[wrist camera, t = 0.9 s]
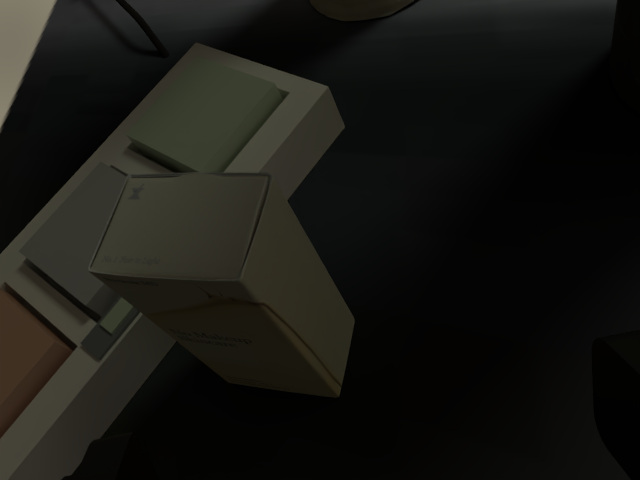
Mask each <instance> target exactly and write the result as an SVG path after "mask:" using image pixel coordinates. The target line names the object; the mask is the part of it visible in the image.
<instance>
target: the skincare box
mask: <svg viewBox="0 0 640 480" xmlns="http://www.w3.org/2000/svg"><path fill="white" fill-rule="evenodd" d="M88 271H89V272H90V273H91V274H93V275H94V276H95V277H96V278H98V279H99V280H100V281H102V282H103V283H104V284H106V285H107V286H108V287H110V288H111V289H112V290H113V291H114V292H116V293H117V294H118V295H120V296H121V297H122V298H123V299H125V300H126V301H127V302H128V303H129V304H131V305H132V306H133V307H134V308H136V309H137V310H138V311H140V312H141V313H142V314H143V315H145V316H146V317H147V318H148V319H150V320H151V321H152V322H153V323H155V324H156V325H157V326H158V327H160V328H161V329H162V330H163V331H165V332H166V333H167V334H168V335H170V336H171V337H172V338H173V339H175V340H176V341H177V342H178V343H180V344H181V345H182V346H183V347H185V348H186V349H187V350H188V351H190V352H191V353H192V354H193V355H195V356H196V357H197V358H198V359H200V360H201V361H202V362H203V363H204V364H206V365H207V366H208V367H210V368H211V369H212V370H213V371H214V372H216V373H217V374H218V375H219V376H221V377H222V378H223V379H224V380H226V381H227V382H229V383H233V384H240V385H246V386H252V387H259V388H266V389H273V390H280V391H287V392H294V393H302V394H310V395H318V396H326V397H335V398H337V397H339V395H340V391H341V387H342V382H343V378H344V373H345V368H346V363H347V358H348V353H349V348H350V343H351V338H352V333H353V328H354V322H355V320H354V317H353V315H352V313H351V312H350V310H349V308H348V307H347V305H346V303H345V301H344V299H343V298H342V296H341V294H340V292H339V291H338V289H337V287H336V285H335V284H334V282H333V280H332V279H331V277H330V275H329V273H328V272H327V270H326V268H325V266H324V264H323V263H322V261H321V259H320V258H319V256H318V254H317V252H316V251H315V249H314V247H313V245H312V244H311V242H310V240H309V238H308V237H307V235H306V233H305V231H304V230H303V228H302V226H301V224H300V223H299V221H298V219H297V217H296V216H295V214H294V212H293V211H292V209H291V207H290V205H289V203H288V201H287V200H286V198H285V196H284V195H283V193H282V191H281V189H280V188H279V186H278V184H277V182H276V180H275V179H274V177H273V175H272V174H271V173H267V172H260V173H250V172H238V173H234V172H228V173H227V172H221V173H214V172H191V173H158V174H129V175H127V178H126V180H125V183H124V185H123V187H122V189H121V191H120V194H119V196H118V198H117V201H116V203H115V205H114V207H113V209H112V211H111V214H110V216H109V219H108V221H107V223H106V226H105V228H104V230H103V232H102V234H101V237H100V239H99V242H98V244H97V247H96V249H95V251H94V254H93V256H92V258H91V261H90V263H89V265H88Z"/></svg>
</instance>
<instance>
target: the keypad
mask: <svg viewBox="0 0 640 480" xmlns="http://www.w3.org/2000/svg"><path fill="white" fill-rule="evenodd" d="M197 56H199V57H202V58H204V59H207V60H210V61H213V62H216V63H219V64H221V65H224V66H227V67H230V68H233V69H236V70H238V71H241V72H244V73H247V74H250V75H253V76H255V77H258V78H261V79H264V80H267V81H270V82H273V83H275V85H276V87H277V89H278V91H279V92H280V94H281V96H282V98H283V102H282V103H281V104H280V105H279V106H278V108H277V109H276V110H275V111H274V112H273V114H272V115H271V116H270V117H269V118H268V120H267V121H266V122H265V123H264V124H263V126H262V127H261V128H260V129H259V130H258V132H257V133H256V134H255V135H254V136H253V137H252V139H251V140H250V141H249V142H248V143H247V145H246V146H245V147H244V148H243V149H242V151H241V152H240V153H239V154H238V155H237V157H236V158H235V159H234V160H233V161H232V163H231V164H230V165H229V166H228V167H227V169H226V170H225V171H224V172H227V173H228V172H234V173H238V172H250V173H260V172H267V173H271V174H272V175H273V177H274V179H275V180H276V182H277V184H278V186H279V188H280V189H281V191H282V193H283V195H284V196H285V198H286V200H288V199H289V198H290V196H291V195H292V194H293V192H294V191H295V190H296V189H297V187H298V186H299V185H300V184H301V182H302V181H303V180H304V178H305V177H306V176H307V175H308V173H309V172H310V171H311V170H312V168H313V167H314V166H315V164H316V163H317V162H318V161H319V159H320V158H321V157H322V156H323V154H324V153H325V152H326V150H327V149H328V148H329V147H330V145H331V144H332V143H333V142H334V140H335V139H336V138H337V137H338V135H339V134H340V133H341V131H342V130H343V129H344V128H345V126H344V124H343V121H342V119H341V116H340V114H339V111H338V109H337V107H336V104H335V102H334V99H333V97H332V94H331V92H330V89H329V87H328V86H325V85H322V84H319V83H316V82H313V81H310V80H307V79H304V78H301V77H298V76H295V75H292V74H289V73H286V72H283V71H280V70H277V69H274V68H271V67H268V66H265V65H262V64H259V63H256V62H253V61H250V60H247V59H244V58H241V57H238V56H235V55H232V54H229V53H226V52H223V51H220V50H217V49H214V48H211V47H208V46H205V45H202V44H199V43H195V44H194V45H193V46H192V47H191V48H190V50H189V51H188V52H187V53H186V54H185V55H184V56H183V57H182V58H181V59H180V60H179V61H178V63H177V64H176V65H175V66H174V67H173V68H172V69H171V70H170V71H169V72H168V73H167V74H166V76H165V77H164V78H163V79H162V80H161V81H160V82H159V83H158V84H157V85H156V86H155V87H154V89H153V90H152V91H151V92H150V93H149V94H148V95H147V96H146V97H145V98H144V99H143V100H142V102H141V103H140V104H139V105H138V106H137V107H136V108H135V109H134V110H133V111H132V112H131V113H130V115H129V116H128V117H127V118H126V119H125V120H124V121H123V122H122V123H121V124H120V125H119V126H118V127H117V129H116V130H115V131H114V132H113V133H112V134H111V135H110V136H109V137H108V138H107V139H106V140H105V142H104V143H103V144H102V145H101V146H100V147H99V148H98V149H97V150H96V151H95V152H94V153H93V155H92V156H91V157H90V158H89V159H88V160H87V161H86V162H85V163H84V164H83V165H82V166H81V168H80V169H79V170H78V171H77V172H76V173H75V174H74V175H73V176H72V177H71V178H70V179H69V181H68V182H67V183H66V184H65V185H64V186H63V187H62V188H61V189H60V190H59V191H58V192H57V194H56V195H55V196H54V197H53V198H52V199H51V200H50V201H49V202H48V203H47V204H46V205H45V207H44V208H43V209H42V210H41V211H40V212H39V213H38V214H37V215H36V216H35V217H34V218H33V220H32V221H31V222H30V223H29V224H28V225H27V226H26V227H25V228H24V229H23V230H22V231H21V233H20V234H19V235H18V236H17V237H16V238H15V239H14V240H13V241H12V242H11V243H10V244H9V246H8V247H7V248H6V249H5V250H4V251H3V252H2V253H1V254H0V289H2V290H4V291H5V292H7V293H9V294H10V295H12V296H14V297H15V298H16V299H17V300H18V301H19V302H20V303H21V304H23V305H24V306H25V307H26V308H27V309H28V310H29V311H30V312H31V313H33V314H34V315H35V316H36V317H37V318H38V319H39V320H40V321H41V322H43V323H44V324H45V325H46V326H47V327H48V328H49V329H50V330H52V331H53V332H54V333H55V334H56V335H57V336H58V337H59V338H60V339H62V340H63V341H64V342H65V343H66V344H67V345H68V346H69V347H70V348H72V349H73V350H74V351H73V353H72V354H71V355H70V356H69V357H68V359H67V360H66V361H65V362H64V363H63V365H62V366H61V367H60V368H59V369H58V370H57V372H56V373H55V374H54V375H53V376H52V378H51V379H50V380H49V381H48V382H47V384H46V385H45V386H44V387H43V388H42V390H41V391H40V392H39V393H38V394H37V396H36V397H35V398H34V399H33V400H32V402H31V403H30V404H29V405H28V406H27V408H26V409H25V410H24V411H23V412H22V414H21V415H20V416H19V417H18V418H17V419H16V421H15V422H14V423H13V424H12V425H11V427H10V428H9V429H8V430H7V431H6V433H5V434H4V435H3V436H2V437H1V439H0V480H62V478H63V477H65V476H70V475H72V474H73V472H74V471H75V470H76V468H77V467H78V466H79V465H80V463H81V462H82V460H83V457H84V455H85V453H86V451H87V448H88V446H89V444H90V443H91V442H92V441H93V440H96V439H100V438H101V437H102V435H103V434H104V433H105V432H106V430H107V429H108V428H109V426H110V425H111V424H112V423H113V421H114V420H115V419H116V418H117V416H118V415H119V414H120V412H121V411H122V410H123V409H124V407H125V406H126V405H127V404H128V402H129V401H130V400H131V398H132V397H133V396H134V395H135V393H136V392H137V391H138V390H139V388H140V387H141V386H142V385H143V383H144V382H145V381H146V379H147V378H148V377H149V376H150V374H151V373H152V372H153V371H154V369H155V368H156V367H157V365H158V364H159V363H160V362H161V360H162V359H163V358H164V357H165V355H166V354H167V353H168V351H169V350H170V349H171V348H172V346H173V345H174V344H175V343H176V340H175V339H173V338H172V337H171V336H170V335H168V334H167V333H166V332H165V331H163V330H162V329H161V328H160V327H158V326H157V325H156V324H155V323H153V322H152V321H151V320H150V319H148V318H147V317H146V316H145V315H143V314H142V313H141V312H140V311H138V310H137V309H136V308H134V307H133V306H132V305H131V304H129V303H128V302H127V301H126V300H125V299H123V298H122V297H121V296H119V298H118V299H117V300H116V301H115V302H114V304H113V305H112V306H111V307H110V308H109V310H108V311H107V312H106V313H105V314H104V316H103V317H102V316H100V315H99V314H97V313H96V312H94V311H93V310H91V309H90V308H88V307H87V306H85V305H84V304H83V303H82V302H80V301H79V300H78V299H77V298H75V297H74V296H73V295H72V294H71V293H69V292H68V291H67V290H66V289H64V288H63V287H62V286H61V285H59V284H58V283H57V282H56V281H54V280H53V279H52V278H51V277H50V276H48V275H47V274H46V273H45V272H43V271H42V270H41V269H40V268H38V267H37V266H36V265H35V264H33V263H32V262H31V261H30V260H29V259H27V258H26V257H25V256H24V255H22V254H21V253H20V252H19V250H20V249H21V248H22V247H23V246H24V245H25V244H26V243H27V241H28V240H29V239H30V238H31V237H32V236H33V235H34V234H35V233H36V232H37V231H38V229H39V228H40V227H41V226H42V225H43V224H44V223H45V222H46V221H47V220H48V218H49V217H50V216H51V215H52V214H53V213H54V212H55V211H56V210H57V209H58V208H59V206H60V205H61V204H62V203H63V202H64V201H65V200H66V199H67V198H68V197H69V196H70V194H71V193H72V192H73V191H74V190H75V189H76V188H77V187H78V186H79V185H80V184H81V182H82V181H83V180H84V179H85V178H86V177H87V176H88V175H89V174H90V173H91V171H92V170H93V169H94V168H95V167H96V166H97V165H98V164H99V163H100V162H102V163H104V164H106V165H107V166H109V167H111V168H113V169H114V170H116V171H118V172H120V173H121V174H123V175H125V176H127V175H129V174H158V173H179V172H177V171H175V170H173V169H171V168H169V167H167V166H165V165H163V164H162V163H160V162H158V161H156V160H154V159H152V158H150V157H148V156H146V155H144V154H142V153H141V152H140V151H139V150H138V148H137V147H136V146H135V145H134V144H133V143H132V142H131V140H130V139H129V138H128V137H127V136H126V135H125V134H126V133H127V132H128V131H129V130H130V129H131V128H132V127H133V126H134V124H135V123H136V122H137V121H138V120H139V119H140V118H141V117H142V116H143V115H144V114H145V112H146V111H147V110H148V109H149V108H150V107H151V106H152V105H153V104H154V103H155V102H156V100H157V99H158V98H159V97H160V96H161V95H162V94H163V93H164V92H165V91H166V90H167V88H168V87H169V86H170V85H171V84H172V83H173V82H174V81H175V80H176V79H177V77H178V76H179V75H180V74H181V73H182V72H183V71H184V70H185V69H186V68H187V67H188V65H189V64H190V63H191V62H192V61H193V60H194V59H195V58H196V57H197Z"/></svg>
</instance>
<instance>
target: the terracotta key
mask: <svg viewBox="0 0 640 480" xmlns="http://www.w3.org/2000/svg"><path fill="white" fill-rule="evenodd" d="M73 351H74V350H73V349H72V348H70V347H69V346H68V345H67V344H66V343H65V342H64V341H63V340H62V339H60V338H59V337H58V336H57V335H56V334H55V333H54V332H53V331H52V330H50V329H49V328H48V327H47V326H46V325H45V324H44V323H43V322H41V321H40V320H39V319H38V318H37V317H36V316H35V315H34V314H33V313H31V312H30V311H29V310H28V309H27V308H26V307H25V306H24V305H23V304H21V303H20V302H19V301H18V300H17V299H16V298H15V297H14V296H12V295H10V294H9V293H7V292H5V291H4V290H2V289H0V439H1V437H2V436H3V435H4V434H5V433H6V431H7V430H8V429H9V428H10V427H11V425H12V424H13V423H14V422H15V421H16V419H17V418H18V417H19V416H20V415H21V414H22V412H23V411H24V410H25V409H26V408H27V406H28V405H29V404H30V403H31V402H32V400H33V399H34V398H35V397H36V396H37V394H38V393H39V392H40V391H41V390H42V388H43V387H44V386H45V385H46V384H47V382H48V381H49V380H50V379H51V378H52V376H53V375H54V374H55V373H56V372H57V370H58V369H59V368H60V367H61V366H62V365H63V363H64V362H65V361H66V360H67V359H68V357H69V356H70V355H71V354H72V353H73Z"/></svg>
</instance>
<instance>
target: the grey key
mask: <svg viewBox="0 0 640 480" xmlns="http://www.w3.org/2000/svg"><path fill="white" fill-rule="evenodd" d="M126 178H127V176H125V175H123V174H121V173H120V172H118V171H116V170H114V169H113V168H111V167H109V166H107V165H106V164H104V163H102V162H100V163H99V164H98V165H97V166H96V167H95V168H94V169H93V170H92V171H91V173H90V174H89V175H88V176H87V177H86V178H85V179H84V180H83V181H82V182H81V184H80V185H79V186H78V187H77V188H76V189H75V190H74V191H73V192H72V193H71V194H70V196H69V197H68V198H67V199H66V200H65V201H64V202H63V203H62V204H61V205H60V206H59V208H58V209H57V210H56V211H55V212H54V213H53V214H52V215H51V216H50V217H49V218H48V220H47V221H46V222H45V223H44V224H43V225H42V226H41V227H40V228H39V229H38V231H37V232H36V233H35V234H34V235H33V236H32V237H31V238H30V239H29V240H28V241H27V243H26V244H25V245H24V246H23V247H22V248H21V249H20V250H19V252H20V253H21V254H22V255H24V256H25V257H26V258H27V259H29V260H30V261H31V262H32V263H33V264H35V265H36V266H37V267H38V268H40V269H41V270H42V271H43V272H45V273H46V274H47V275H48V276H50V277H51V278H52V279H53V280H54V281H56V282H57V283H58V284H59V285H61V286H62V287H63V288H64V289H66V290H67V291H68V292H69V293H71V294H72V295H73V296H74V297H75V298H77V299H78V300H79V301H80V302H82V303H83V304H84V305H85V306H87V307H88V308H90V309H91V310H93V311H94V312H96V313H97V314H99V315H100V316H102V317H103V316H104V314H105V313H106V312H107V311H108V310H109V308H110V307H111V306H112V305H113V304H114V302H115V301H116V300H117V299H118V298H119V296H120V295H118V294H117V293H116V292H114V291H113V290H112V289H111V288H110V287H108V286H107V285H106V284H104V283H103V282H102V281H100V280H99V279H98V278H96V277H95V276H94V275H93V274H91V273H90V272H89V271H88V265H89V263H90V261H91V258H92V256H93V254H94V251H95V249H96V247H97V244H98V242H99V239H100V237H101V234H102V232H103V230H104V228H105V226H106V223H107V221H108V219H109V216H110V214H111V211H112V209H113V207H114V205H115V203H116V201H117V198H118V196H119V194H120V191H121V189H122V187H123V185H124V183H125V180H126Z"/></svg>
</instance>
